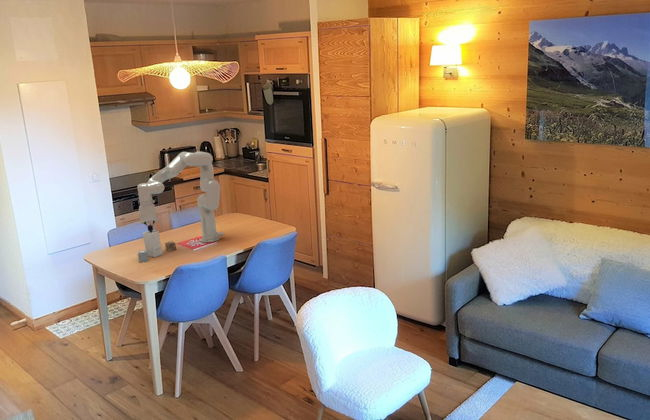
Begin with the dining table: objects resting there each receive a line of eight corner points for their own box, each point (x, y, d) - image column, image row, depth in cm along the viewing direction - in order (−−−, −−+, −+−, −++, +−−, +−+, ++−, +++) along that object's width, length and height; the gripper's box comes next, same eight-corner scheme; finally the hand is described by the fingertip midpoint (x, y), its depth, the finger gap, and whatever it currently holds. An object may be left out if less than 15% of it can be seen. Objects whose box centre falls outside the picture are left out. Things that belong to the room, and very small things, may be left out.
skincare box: (163, 254, 355) (159, 231, 351) (155, 257, 350) (151, 234, 346) (153, 252, 359) (150, 229, 355) (145, 256, 354) (142, 232, 350)
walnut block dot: (173, 248, 366) (172, 240, 365) (176, 250, 362) (175, 242, 361) (166, 250, 363) (164, 242, 362) (168, 251, 359) (167, 244, 358)
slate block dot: (148, 258, 348) (146, 249, 347) (147, 261, 344) (146, 252, 342) (140, 260, 348) (138, 250, 346) (139, 262, 343) (137, 253, 341)
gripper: (158, 200, 352) (162, 228, 356) (133, 203, 346) (138, 232, 351) (159, 202, 345) (163, 231, 350) (134, 206, 340) (138, 235, 344)
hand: (150, 231), depth 350 cm, fingers closed
